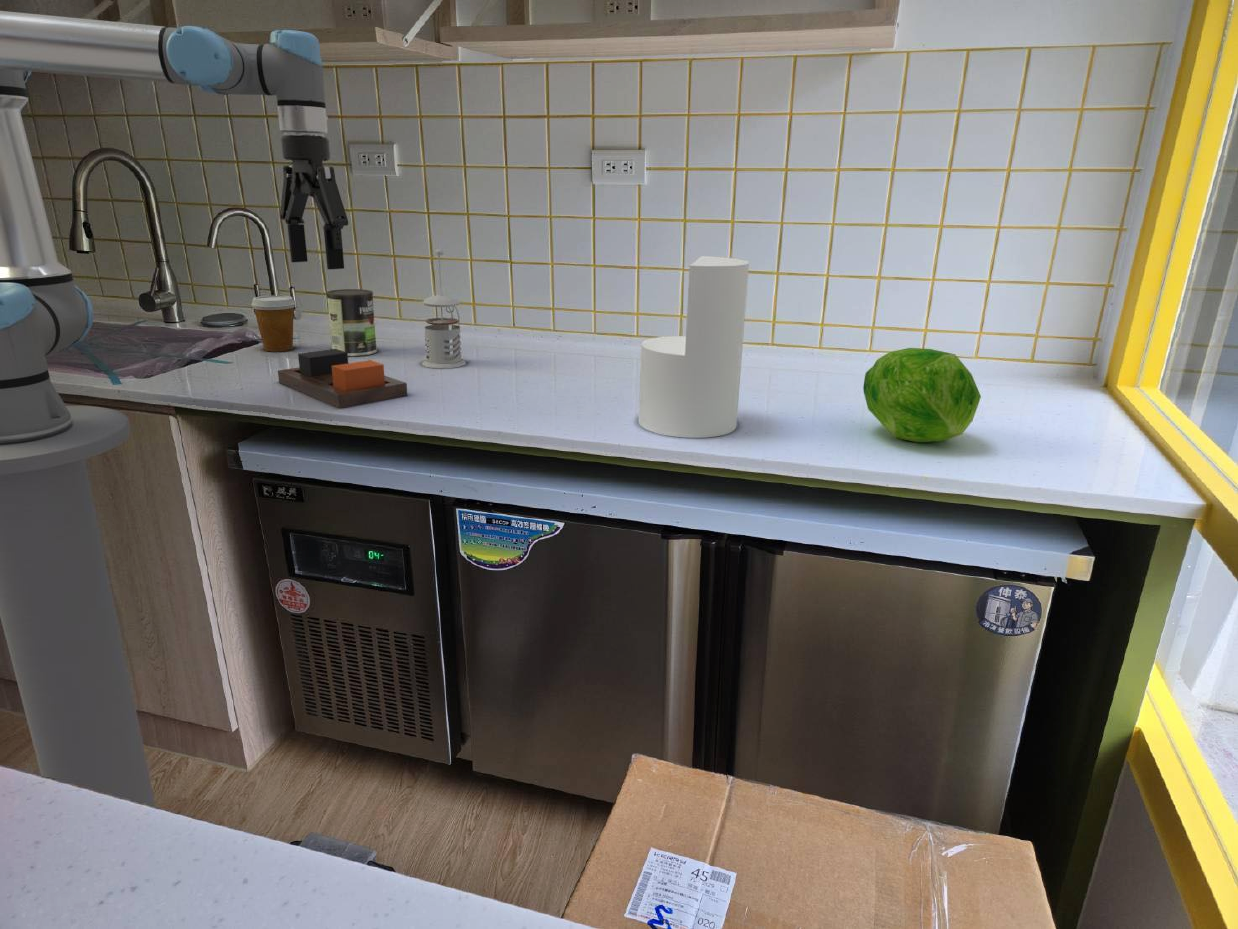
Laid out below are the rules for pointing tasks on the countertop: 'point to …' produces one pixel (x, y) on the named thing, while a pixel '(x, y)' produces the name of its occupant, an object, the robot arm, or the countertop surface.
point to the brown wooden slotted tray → (326, 392)
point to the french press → (442, 333)
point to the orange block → (358, 375)
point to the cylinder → (698, 357)
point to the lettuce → (921, 394)
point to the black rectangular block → (321, 361)
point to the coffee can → (352, 321)
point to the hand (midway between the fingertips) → (317, 265)
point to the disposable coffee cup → (275, 321)
